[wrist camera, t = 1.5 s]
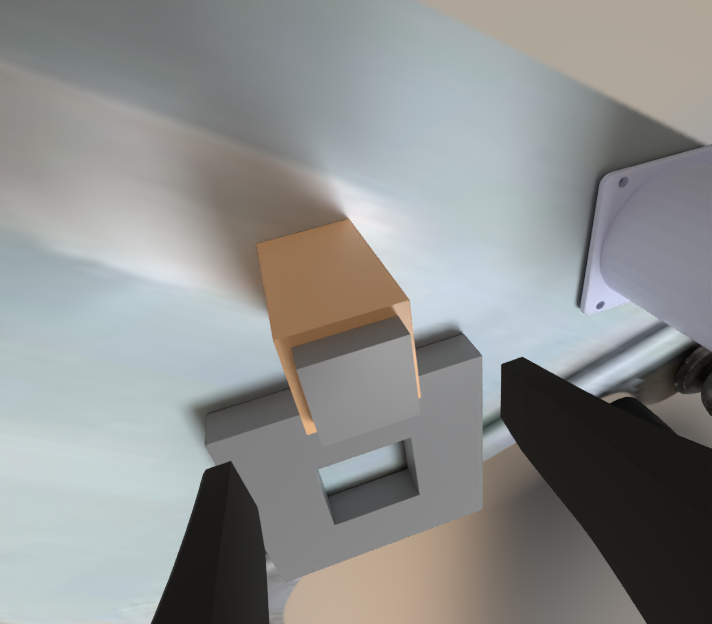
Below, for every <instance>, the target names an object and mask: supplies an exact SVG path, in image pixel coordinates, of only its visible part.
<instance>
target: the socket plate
mask: <svg viewBox="0 0 712 624" xmlns="http://www.w3.org/2000/svg"><path fill="white" fill-rule="evenodd" d="M415 351H416V359H417V368H418V376H419V385H420V393H421V398H418V399H419V407H420V415H417V416H414V417H411V418H408V419H405V420H402V421H399V422H396V423H393V424H390V425H387V426H384V427H381V428H378V429H375V430H372V431H369V432H366V433H363V434H360V435H357V436H354V437H351V438H348V439H345V440H342V441H339V442H336V443H333V444H330V445H327V446H324V447H322V445H321V442H320V439H319V436H318V433H317V432H316V433H312V434H309V435H307V434H306V431H305V428H304V425H303V422H302V420H301V417H300V414H299V411H298V409H297V406H296V403H295V400H294V397H293V395H292V392H291V389H290V388H289V389H286V390H283V391H280V392H277V393H274V394H270V395H267V396H264V397H261V398H258V399H255V400H251V401H248V402H245V403H242V404H239V405H235V406H232V407H229V408H226V409H223V410H220V411H216V412H213V413H210V414H207V415H206V431H205V447H206V448H207V450H208V452H209V453H210V455H211V457H212V459H213V460H214V462H215V464H216V465H220V464H223V463H226V462H229V461H232V463H233V465H234V467H235V468H236V470H237V472H238V474H239V475H240V477H241V479H242V481H243V482H244V484H245V486H246V488H247V489H248V491H249V493H250V495H251V496H252V498H253V500H254V502H255V503H256V505H257V507H258V511H259V517H260V522H261V528H262V534H263V541H264V547H265V550H266V552H267V553H268V555H269V557H270V559H271V560H272V562H273V564H274V565H275V567H276V569H277V571H278V572H279V574H280V576H281V577H282V579H283V581H284V583H286V582H288V581H291V580H294V579H296V578H299V577H302V576H305V575H307V574H310V573H312V572H315V571H318V570H321V569H323V568H326V567H329V566H331V565H334V564H337V563H339V562H342V561H345V560H347V559H350V558H353V557H356V556H358V555H361V554H364V553H366V552H369V551H372V550H374V549H377V548H379V547H382V546H385V545H387V544H390V543H393V542H396V541H398V540H401V539H404V538H406V537H409V536H412V535H415V534H417V533H420V532H423V531H425V530H428V529H431V528H433V527H436V526H439V525H441V524H444V523H447V522H450V521H452V520H455V519H457V518H460V517H463V516H466V515H468V514H471V513H474V512H476V511H479V510H481V509H483V502H482V500H483V499H482V498H483V495H482V494H483V492H482V491H483V488H482V487H483V485H482V483H483V482H482V479H483V477H482V355H481V354H480V352H479V351H478V350H477V349H476V348H475V347H474V345H473V344H472V343H471V342H470V341H469V339H468V338H467V337H466V336H465V335H464V334H461V335H458V336H455V337H452V338H448V339H445V340H442V341H439V342H436V343H433V344H429V345H426V346H423V347H420V348H417V349H415ZM402 440H404V447H405V453H406V459H407V465H408V469H405V470H402V471H399V472H397V473H394V474H391V475H388V476H385V477H382V478H379V479H377V480H374V481H371V482H368V483H365V484H362V485H360V486H357V487H354V488H351V489H348V490H345V491H342V492H340V493H337V494H334V495H331V496H327V493H326V490H325V487H324V485H323V482H322V479H321V476H320V474H319V471H318V469H320V468H323V467H326V466H329V465H332V464H335V463H338V462H341V461H344V460H347V459H350V458H352V457H355V456H358V455H361V454H364V453H367V452H370V451H373V450H376V449H379V448H382V447H385V446H388V445H390V444H393V443H396V442H399V441H402Z"/></svg>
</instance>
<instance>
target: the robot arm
mask: <svg viewBox="0 0 712 624" xmlns="http://www.w3.org/2000/svg"><path fill="white" fill-rule="evenodd" d="M621 179H622V180H621ZM620 180H621V182H620V183H619V181H620ZM628 302H633V303H634V304H636V305H638V306H639V307H641V308H642V309H644V310H646V311H647V312H649V313H651V314H652V315H654V316H655V317H657V318H659V319H660V320H662V321H663V322H665V323H667V324H668V325H670V326H671V327H673V328H675V329H676V330H678V331H680V332H681V333H683V334H684V335H686V336H688V337H689V338H691V339H692V340H694V341H696V342H697V343H699V344H701V345H702V346H704V347H705V348H707V349H709V350H710V351H712V145H708V146H704V147H701V148H697V149H693V150H690V151H686V152H683V153H679V154H675V155H672V156H668V157H664V158H661V159H657V160H654V161H650V162H646V163H643V164H639V165H635V166H632V167H628V168H625V169H621V170H617V171H614V172H610V173H608V174H606V175H605V176H604V177H603V178H602V180H601V182H600V185H599V191H598V197H597V204H596V210H595V216H594V223H593V229H592V235H591V242H590V248H589V255H588V261H587V267H586V274H585V280H584V287H583V293H582V299H581V306H580V310H581V311H582V312H583V313H584V314H586V315H591V314H594V313H597V312H600V311H603V310H606V309H610V308H613V307H616V306H619V305H622V304H625V303H628ZM501 418H502V420H503V421H504V423H505V425H506V426H507V428H508V430H509V431H510V433H511V435H512V436H513V438H514V439H515V441H516V443H517V444H518V446H519V447H520V449H521V450H522V452H523V453H524V454H525V456H526V457H527V458H528V459H529V461H530V462H531V463H532V464H533V466H534V467H535V468H536V469H537V471H538V472H539V473H540V475H541V476H542V477H543V478H544V480H545V481H546V482H547V483H548V485H549V486H550V487H551V488H552V489H553V491H554V492H555V493H556V494H557V496H558V497H559V498H560V499H561V501H562V502H563V503H564V504H565V506H566V507H567V508H568V509H569V511H570V512H571V513H572V514H573V516H574V517H575V518H576V519H577V521H578V522H579V523H580V524H581V526H582V527H583V528H584V530H585V531H586V532H587V534H588V535H589V536H590V538H591V539H592V541H593V542H594V543H595V545H596V546H597V548H598V549H599V551H600V552H601V554H602V555H603V557H604V558H605V560H606V561H607V563H608V564H609V566H610V567H611V569H612V570H613V572H614V573H615V575H616V576H617V578H618V579H619V581H620V582H621V584H622V586H623V587H624V588H625V590H626V592H627V593H628V595H629V596H630V598H631V600H632V601H633V603H634V604H635V606H636V607H637V609H638V611H639V612H640V614H641V615H642V617H643V618H644V620H645V621H646V623H647V624H712V449H711V448H709V447H706V446H704V445H701V444H699V443H696V442H694V441H691V440H688V439H686V438H684V437H681V436H679V435H676V434H674V433H672V432H669V431H667V430H665V429H662V428H660V427H658V426H656V425H654V424H651V423H649V422H647V421H645V420H643V419H640V418H638V417H636V416H634V415H632V414H630V413H628V412H626V411H624V410H621V409H619V408H617V407H615V406H613V405H611V404H609V403H607V402H605V401H603V400H602V399H600V398H598V397H596V396H594V395H592V394H590V393H588V392H586V391H584V390H582V389H580V388H579V387H577V386H575V385H573V384H571V383H569V382H567V381H566V380H564V379H562V378H560V377H558V376H556V375H555V374H553V373H551V372H549V371H547V370H546V369H544V368H542V367H540V366H538V365H537V364H535V363H533V362H531V361H529V360H527V359H525V358H524V357H520V358H517V359H515V360H512V361H509V362H506V363H503V364H501ZM151 624H269V609H268V591H267V574H266V558H265V547H264V541H263V534H262V528H261V522H260V517H259V511H258V507H257V505H256V503H255V502H254V500H253V498H252V496H251V495H250V493H249V491H248V489H247V488H246V486H245V484H244V482H243V481H242V479H241V477H240V475H239V474H238V472H237V470H236V468H235V467H234V465H233V463H232V461H229V462H226V463H223V464H220V465H217V466H215V467H212V468H209V469H206V470H205V472H204V474H203V476H202V480H201V483H200V487H199V490H198V494H197V497H196V501H195V504H194V507H193V510H192V514H191V517H190V520H189V523H188V526H187V529H186V532H185V535H184V538H183V541H182V544H181V547H180V549H179V552H178V555H177V558H176V561H175V564H174V566H173V569H172V572H171V575H170V577H169V580H168V582H167V585H166V587H165V590H164V592H163V595H162V597H161V600H160V602H159V605H158V607H157V610H156V612H155V615H154V617H153V620H152V622H151Z"/></svg>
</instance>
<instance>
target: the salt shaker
mask: <svg viewBox="0 0 712 624" xmlns="http://www.w3.org/2000/svg"><path fill="white" fill-rule="evenodd" d="M674 386H675V388H676V390H677V391H678V392H680V393H682V394H694V393H698V392H701V399H702V403H703V405H704V406H705V408H706V410H707V411H708V413H709V414H710V415H711V416H712V351H710V350H709V349H707V348H705V347H704V346H701V347H699V348H698V349H697V350H695V351H694V352H693V353H692V354H691V355H690V356H689V357H688V358H687V359H686V360H685V362H684V363H683V364H682V365H681V367H680V369H679V370H678V372H677V374H676V377H675V380H674Z"/></svg>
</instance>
